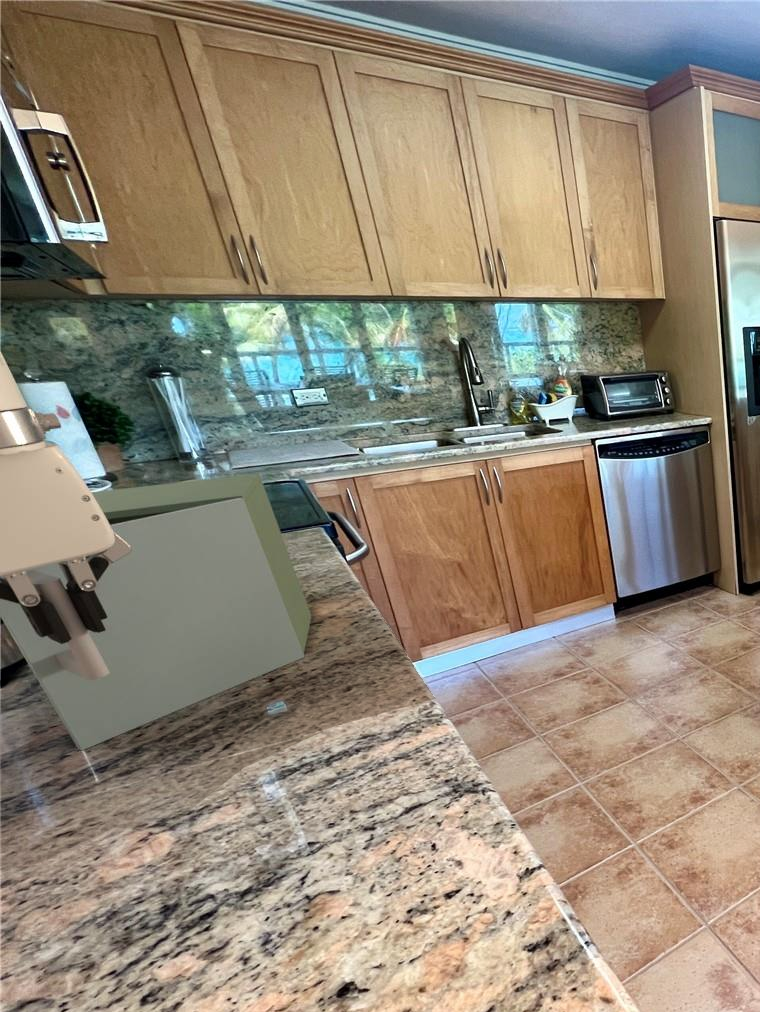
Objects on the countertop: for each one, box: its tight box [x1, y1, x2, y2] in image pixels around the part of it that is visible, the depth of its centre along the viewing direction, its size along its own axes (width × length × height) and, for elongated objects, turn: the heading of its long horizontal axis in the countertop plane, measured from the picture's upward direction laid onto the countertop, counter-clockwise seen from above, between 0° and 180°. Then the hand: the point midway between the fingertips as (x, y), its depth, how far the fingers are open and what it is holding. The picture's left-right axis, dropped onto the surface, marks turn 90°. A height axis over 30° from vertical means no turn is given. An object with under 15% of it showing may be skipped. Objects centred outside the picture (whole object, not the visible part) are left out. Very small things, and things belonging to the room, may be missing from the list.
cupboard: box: [91, 473, 312, 656], centre depth 81 cm, size 15×22×22 cm
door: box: [0, 498, 305, 751], centre depth 69 cm, size 7×22×21 cm, turn 155°
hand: (77, 633), depth 60 cm, fingers closed on door
